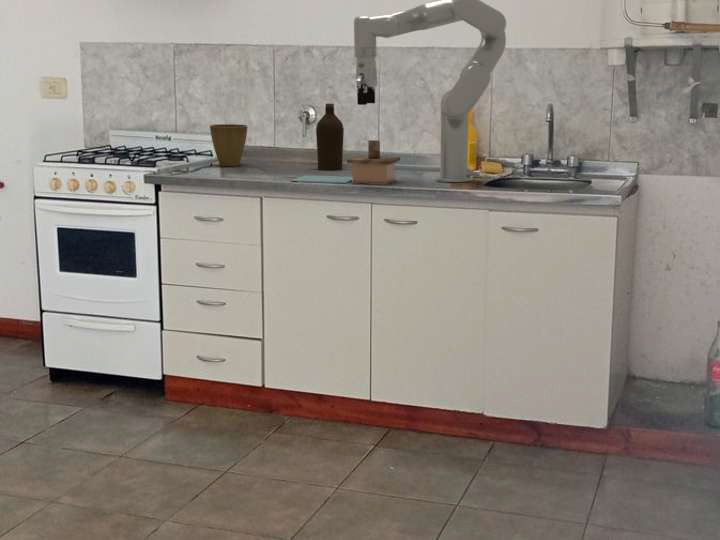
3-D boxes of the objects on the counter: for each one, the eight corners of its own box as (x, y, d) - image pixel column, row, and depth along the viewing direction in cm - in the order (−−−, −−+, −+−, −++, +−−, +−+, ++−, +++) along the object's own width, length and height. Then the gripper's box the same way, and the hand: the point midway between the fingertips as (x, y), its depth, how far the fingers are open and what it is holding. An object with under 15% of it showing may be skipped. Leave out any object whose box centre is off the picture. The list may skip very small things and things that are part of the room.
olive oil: (343, 170, 401) (343, 104, 396) (316, 170, 401) (315, 104, 396) (343, 167, 412) (343, 103, 407) (316, 167, 412) (316, 103, 407)
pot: (394, 180, 370) (395, 160, 368) (386, 184, 358) (386, 163, 357) (362, 179, 373) (362, 159, 371) (352, 183, 361) (352, 162, 360)
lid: (400, 160, 369) (400, 139, 368) (389, 164, 355) (390, 143, 354) (359, 159, 373) (359, 138, 372) (347, 163, 359) (347, 142, 358)
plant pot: (204, 167, 414) (203, 126, 411) (219, 163, 428) (218, 123, 425) (240, 168, 410) (239, 126, 407) (254, 164, 424) (253, 124, 421)
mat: (358, 178, 376) (358, 177, 376) (345, 183, 361) (345, 182, 360) (305, 176, 381) (305, 175, 381) (290, 181, 366) (290, 180, 366)
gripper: (368, 53, 350) (369, 105, 354) (383, 53, 367) (383, 102, 370) (347, 53, 353) (348, 105, 356) (362, 53, 369) (363, 102, 372)
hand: (366, 103), depth 363 cm, fingers open, 9 cm apart
